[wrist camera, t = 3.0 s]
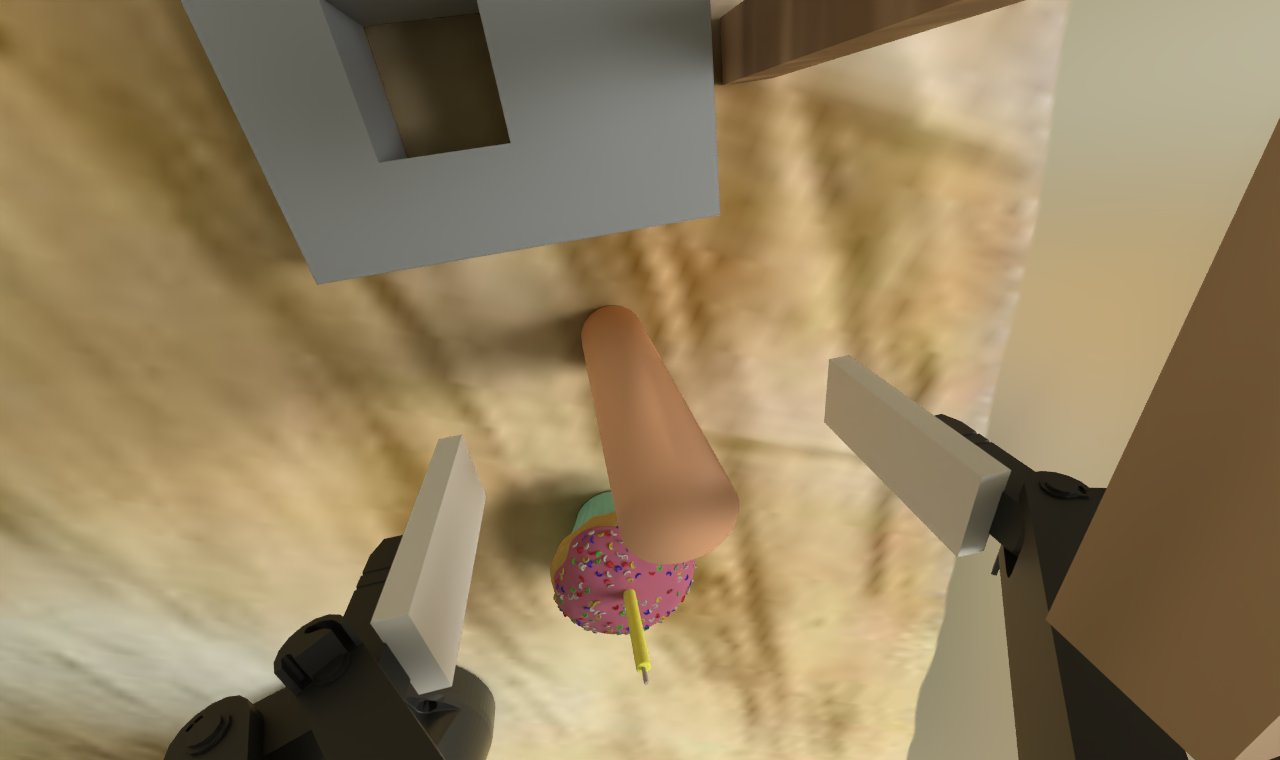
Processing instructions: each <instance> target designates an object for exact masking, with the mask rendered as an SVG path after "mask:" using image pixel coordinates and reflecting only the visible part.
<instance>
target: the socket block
mask: <svg viewBox="0 0 1280 760" xmlns="http://www.w3.org/2000/svg"><path fill="white" fill-rule="evenodd" d="M180 1H181V3H182V5H183V7H184V9H185V11H186V13H187V15H188V17H189V20H190V22H191V24H192V26H193V28H194V30H195V32H196V34H197V36H198V38H199V40H200V42H201V45H202V47H203V49H204V51H205V53H206V55H207V57H208V59H209V61H210V63H211V65H212V67H213V69H214V72H215V74H216V76H217V78H218V80H219V82H220V84H221V86H222V88H223V90H224V92H225V94H226V96H227V99H228V101H229V103H230V105H231V107H232V109H233V111H234V113H235V115H236V117H237V119H238V121H239V123H240V126H241V128H242V130H243V132H244V134H245V136H246V138H247V140H248V142H249V144H250V146H251V148H252V150H253V153H254V155H255V157H256V159H257V161H258V163H259V165H260V167H261V169H262V171H263V173H264V175H265V177H266V180H267V182H268V184H269V186H270V188H271V190H272V192H273V194H274V196H275V198H276V200H277V202H278V204H279V207H280V209H281V211H282V213H283V215H284V217H285V219H286V221H287V223H288V225H289V227H290V229H291V231H292V234H293V236H294V238H295V240H296V242H297V244H298V246H299V248H300V250H301V252H302V254H303V256H304V258H305V261H306V263H307V265H308V267H309V269H310V271H311V273H312V275H313V277H314V279H315V281H316V283H317V285H318V284H324V283H330V282H335V281H341V280H347V279H353V278H358V277H364V276H370V275H376V274H382V273H387V272H393V271H399V270H405V269H411V268H416V267H422V266H428V265H434V264H439V263H445V262H451V261H457V260H463V259H468V258H474V257H480V256H486V255H491V254H497V253H503V252H509V251H515V250H520V249H526V248H532V247H538V246H544V245H549V244H555V243H561V242H567V241H572V240H578V239H584V238H590V237H596V236H601V235H607V234H613V233H619V232H625V231H630V230H636V229H642V228H648V227H653V226H659V225H665V224H671V223H677V222H682V221H688V220H694V219H700V218H705V217H711V216H717V215H720V205H719V183H718V161H717V140H716V118H715V96H714V74H713V53H712V31H711V9H710V0H180ZM473 13H480V16H481V20H482V24H483V29H484V33H485V37H486V41H487V45H488V50H489V54H490V58H491V62H492V66H493V71H494V75H495V79H496V83H497V88H498V92H499V96H500V100H501V104H502V109H503V113H504V117H505V121H506V125H507V130H508V134H509V138H510V142H511V143H508V144H501V145H494V146H488V147H481V148H474V149H467V150H460V151H454V152H447V153H440V154H433V155H427V156H420V157H413V158H407V155H406V152H405V149H404V146H403V143H402V140H401V137H400V134H399V131H398V128H397V125H396V122H395V119H394V116H393V113H392V110H391V107H390V104H389V101H388V99H387V96H386V93H385V90H384V87H383V84H382V81H381V78H380V75H379V72H378V69H377V66H376V63H375V60H374V57H373V54H372V51H371V48H370V45H369V42H368V39H367V36H366V33H365V31H364V28H363V26H371V25H380V24H388V23H397V22H405V21H414V20H422V19H431V18H439V17H448V16H456V15H465V14H473Z"/></svg>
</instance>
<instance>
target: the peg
mask: <svg viewBox="0 0 1280 760" xmlns="http://www.w3.org/2000/svg"><path fill="white" fill-rule="evenodd" d="M581 341H582V346H583V351H584V356H585V361H586V366H587V371H588V376H589V382H590V387H591V392H592V397H593V402H594V407H595V412H596V417H597V422H598V427H599V432H600V437H601V442H602V447H603V452H604V457H605V462H606V467H607V472H608V477H609V482H610V487H611V492H612V497H613V502H614V507H615V512H616V517H617V522H618V527H619V532H620V536H621V539H622V542H623V544H624V545H625V547H626V548H627V549H628V550H629V551H630V552H631V553H632V554H633V555H635V556H636V557H638V558H640V559H642V560H644V561H647V562H650V563H655V564H678V563H683V562H687V561H691V560H694V559H696V558H699V557H701V556H703V555H705V554H707V553H708V552H710V551H712V550H713V549H714V548H716V547H717V546H718V545H720V544H721V543H722V542H723V541H724V540H725V539H726V538H727V536H728V535H729V534H730V532H731V531H732V530H733V528H734V526H735V524H736V521H737V519H738V515H739V499H738V496H737V493H736V491H735V489H734V487H733V486H732V484H731V482H730V480H729V478H728V477H727V475H726V473H725V471H724V470H723V468H722V466H721V464H720V462H719V461H718V459H717V457H716V455H715V454H714V452H713V450H712V448H711V446H710V445H709V443H708V441H707V439H706V438H705V436H704V434H703V432H702V430H701V429H700V427H699V425H698V423H697V422H696V420H695V418H694V416H693V414H692V413H691V411H690V409H689V407H688V406H687V404H686V402H685V400H684V398H683V397H682V395H681V393H680V391H679V390H678V388H677V386H676V384H675V382H674V381H673V379H672V377H671V375H670V374H669V372H668V370H667V368H666V366H665V365H664V363H663V361H662V359H661V358H660V356H659V354H658V352H657V350H656V349H655V347H654V345H653V343H652V342H651V340H650V338H649V336H648V334H647V333H646V331H645V329H644V327H643V325H642V324H641V322H640V320H639V319H638V317H637V316H636V315H635V314H634V313H633V312H632V311H630V310H629V309H627V308H624V307H621V306H606V307H602V308H600V309H598V310H596V311H594V312H593V313H592V314H591V315H590V316H589V317H588V318H587V319H586V321H585V323H584V325H583V327H582V331H581Z"/></svg>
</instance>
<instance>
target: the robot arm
mask: <svg viewBox="0 0 1280 760" xmlns="http://www.w3.org/2000/svg"><path fill="white" fill-rule="evenodd" d="M824 422H825V423H826V424H827V425H828V426H829V427H830V428H831V429H832V430H833V431H834V432H835V433H836V434H837V435H838V436H839V438H840V439H841V440H842V441H843V442H844V443H845V444H846V445H847V446H848V447H849V448H850V449H851V450H852V451H853V452H854V453H855V454H856V455H857V456H858V457H859V458H860V459H861V460H862V461H863V462H864V463H865V464H866V465H867V466H868V467H869V468H870V469H871V470H872V471H873V472H874V473H875V474H876V475H877V476H878V477H879V478H880V479H881V480H882V481H883V482H884V483H885V484H886V485H887V486H888V487H889V488H890V489H891V490H892V491H893V492H894V493H895V494H896V495H897V496H898V497H899V498H900V499H901V500H902V502H903V503H904V504H905V505H906V506H907V507H908V508H909V509H910V510H911V511H912V512H913V513H914V514H915V515H916V516H917V517H918V518H919V519H920V520H921V521H922V522H923V523H924V524H925V525H926V526H927V527H928V528H929V529H930V530H931V531H932V532H933V533H934V534H935V535H936V536H937V537H938V538H939V539H940V540H941V541H942V542H943V543H944V544H945V545H946V546H947V547H948V548H949V549H950V550H951V551H952V552H953V553H954V554H955V555H956V556H957V557H961V556H965V555H969V554H972V553H977V552H981V551H984V549H985V546H986V543H987V540H988V537H989V534H990V535H992V536H993V537H994V538H995V539H996V540H997V541H998V542H999V543H1001V547H1000V549H999V553H998V555H997V558H996V561H995V563H994V566H993V569H992V573H991V574H993V575H997V573H998V570H999V569H1000V576H1001V584H1002V585H1001V586H1002V596H1003V606H1004V616H1005V626H1006V636H1007V646H1008V656H1009V666H1010V677H1011V687H1012V697H1013V707H1014V716H1015V727H1016V737H1017V747H1018V757H1019V760H1188V757H1187V755H1186V752H1185V750H1184V749H1183V748H1182V747H1181V746H1180V745H1179V744H1178V743H1177V742H1176V741H1174V740H1173V739H1172V738H1171V737H1170V736H1169V735H1168V734H1167V733H1166V732H1165V731H1164V730H1163V729H1162V728H1161V727H1160V726H1158V725H1157V724H1156V723H1155V722H1154V721H1153V720H1152V719H1151V718H1150V717H1149V716H1148V715H1147V714H1146V713H1145V712H1144V711H1142V710H1141V709H1140V708H1139V707H1138V706H1137V705H1136V704H1135V703H1134V702H1133V701H1132V700H1131V699H1130V698H1129V697H1128V696H1126V695H1125V694H1124V693H1123V692H1122V691H1121V690H1120V689H1119V688H1118V687H1117V686H1116V685H1115V684H1114V683H1113V682H1111V681H1110V680H1109V679H1108V678H1107V677H1106V676H1105V675H1104V674H1103V673H1102V672H1101V671H1100V670H1099V669H1098V668H1097V667H1095V666H1094V665H1093V664H1092V663H1091V662H1090V661H1089V660H1088V659H1087V658H1086V657H1085V656H1084V655H1083V654H1082V653H1081V652H1079V651H1078V650H1077V649H1076V648H1075V647H1074V646H1073V645H1072V644H1071V643H1070V642H1069V641H1068V640H1067V639H1066V638H1065V637H1063V636H1062V635H1061V634H1060V633H1059V632H1058V631H1057V630H1056V629H1055V628H1054V627H1053V626H1052V625H1051V624H1050V623H1049V622H1047V621H1046V620H1045V619H1046V617H1047V615H1048V613H1049V611H1050V609H1051V607H1052V604H1053V602H1054V600H1055V598H1056V596H1057V594H1058V592H1059V589H1060V587H1061V585H1062V583H1063V581H1064V579H1065V577H1066V574H1067V572H1068V570H1069V568H1070V566H1071V564H1072V562H1073V559H1074V557H1075V555H1076V553H1077V551H1078V549H1079V547H1080V545H1081V542H1082V540H1083V538H1084V536H1085V534H1086V532H1087V530H1088V527H1089V525H1090V523H1091V521H1092V519H1093V517H1094V515H1095V512H1096V510H1097V508H1098V506H1099V504H1100V502H1101V500H1102V497H1103V495H1104V493H1105V491H1106V489H1107V488H1089V487H1088V486H1086V485H1085V484H1083V483H1082V482H1080V481H1078V480H1076V479H1074V478H1072V477H1070V476H1067V475H1063V474H1060V473H1056V472H1047V471H1039V472H1035V471H1033V470H1032V469H1030V468H1029V467H1027V466H1026V465H1024V464H1023V463H1022V462H1020V461H1019V460H1017V459H1016V458H1014V457H1013V456H1011V455H1010V454H1008V453H1007V452H1005V451H1004V450H1002V449H1001V448H1000V447H998V446H997V445H995V444H994V443H992V442H989V441H988V439H986V438H985V437H983V436H982V435H980V434H977V433H976V431H974V430H973V429H971V428H970V427H968V426H967V425H966V424H964V423H963V422H961V421H959V420H956V419H953V418H951V417H948V416H946V415H943V414H939V415H935V416H934V415H933V414H931V413H930V412H928V411H927V410H926V409H924V408H923V407H921V406H920V405H918V404H917V403H916V402H914V401H913V400H911V399H910V398H909V397H907V396H906V395H904V394H903V393H902V392H900V391H899V390H897V389H896V388H895V387H893V386H892V385H890V384H889V383H887V382H886V381H885V380H883V379H882V378H880V377H879V376H878V375H876V374H875V373H873V372H872V371H871V370H869V369H868V368H866V367H865V366H863V365H862V364H861V363H859V362H858V361H856V360H855V359H854V358H852V357H851V356H849V355H848V356H843V357H838V358H833V359H829V369H828V381H827V394H826V407H825V419H824ZM485 499H486V494H485V492H484V489H483V487H482V484H481V482H480V479H479V477H478V474H477V471H476V469H475V466H474V464H473V461H472V459H471V456H470V454H469V451H468V448H467V446H466V443H465V441H464V438H463V436H462V435H458V436H453V437H448V438H443V439H439V440H438V443H437V446H436V448H435V451H434V454H433V456H432V459H431V462H430V464H429V467H428V470H427V472H426V475H425V478H424V480H423V483H422V486H421V489H420V491H419V494H418V497H417V499H416V502H415V505H414V507H413V510H412V513H411V515H410V518H409V521H408V523H407V526H406V529H405V531H404V534H403V535H401V536H396V537H392V538H387V539H384V540H383V541H382V542H381V543H380V545H379V546H378V547H377V548H376V549H375V550H374V552H373V553H372V554H371V555H370V557H369V559H368V561H367V564H366V566H365V568H364V570H363V576H361V577H360V580H359V582H358V584H357V590H355V591H354V593H353V596H352V598H351V600H350V603H349V605H348V607H347V610H346V612H345V614H344V616H343V617H342V616H341V615H331V614H329V615H326V616H323V617H319V618H316V619H314V620H313V621H311V622H309V623H308V624H306V625H304V626H302V627H301V628H300V629H299V630H298V631H296V632H295V633H294V634H293V635H292V636H291V637H289V638H288V640H287V641H286V642H285V644H284V645H283V646H282V647H281V649H280V650H279V652H278V654H277V656H276V659H275V661H274V674H275V675H276V676H277V677H278V678H279V679H280V680H281V681H282V682H283V683H284V684H285V685H286V687H285V688H283V689H281V690H280V691H278V692H276V693H274V694H272V695H270V696H268V697H266V698H264V699H262V700H260V701H258V702H256V703H255V704H252V703H251V702H250V701H249V700H248V699H246V698H244V697H242V696H240V695H239V696H231V697H226V698H224V699H222V700H219V701H217V702H215V703H213V704H211V705H210V706H208V707H207V708H205V709H204V710H202V711H201V712H200V713H198V714H197V715H195V716H194V717H193V718H192V719H191V720H190V721H189V722H188V723H187V724H186V725H185V726H184V727H183V728H182V729H181V730H180V732H179V733H178V734H177V736H176V737H175V738H174V740H173V741H172V743H171V744H170V745H169V748H168V750H167V753H166V755H165V758H164V760H486V758H487V755H488V752H489V750H490V747H491V743H492V738H493V728H494V717H495V702H494V698H493V696H492V693H491V692H490V690H489V689H488V687H487V686H486V685H485V684H484V683H483V682H482V681H481V680H480V679H478V678H477V677H476V676H474V675H473V674H471V673H469V672H467V671H465V670H463V669H461V668H458V667H456V661H457V655H458V650H459V644H460V639H461V633H462V627H463V622H464V616H465V611H466V605H467V600H468V594H469V588H470V583H471V577H472V572H473V566H474V561H475V555H476V549H477V544H478V538H479V533H480V527H481V522H482V516H483V511H484V505H485ZM1270 760H1280V756H1278V757H1275V758H1272V759H1270Z"/></svg>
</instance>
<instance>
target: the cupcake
mask: <svg viewBox="0 0 1280 760" xmlns="http://www.w3.org/2000/svg"><path fill="white" fill-rule="evenodd" d="M694 567H696V568H697V566H696V565H695V559H694V560H691V561H687V562H683V563H678V564H655V563H650V562H647V561H644V560H642V559H640V558H638V557H636V556H635V555H633V554H632V553H631V552H630V551H629V550H628V549H627V548H626V547H625V545H624V544H623V542H622V539H621V536H620V532H619V527H618V522H617V517H616V512H615V507H614V502H613V497H612V492H611V491H609V492H605V493H602V494H599V495H597V496H595V497H593V498H591V499H590V500H589V501H587V502H586V503H585V504H584V505H583V507H582V508H581V509H580V511H579V513H578V516H577V519H576V523H575V526H574V529H573V531H572V533H571V534H570V535H568V536H567V537H565V538H564V539H563V540H562V541H561V543H560V545H559V547H558V549H557V552H556V554H555V556H554V558H553V560H552V563H551V567H550V575H551V581H552V585H553V589H554V592H555V594H554V600H555V602H556V603H557V604H558V608H560V609H559V610H560V611H563V614H564V613H565V614H566V615H565V614H564V616H565V617H566V616H568V617H569V618H570V619H571V621H572V622H573V623H574V624H575V623H576V624H578V626H581V627H582V628H584V630H586V631H590V630H591V631H592V632H593V633H597V632H601V633H606V634H617V635H620V634H625V635H628V634H630V636H631V642H632V647H633V653H634V659H635V664H636V669H637V671H638V672H639V673H642V674H643V680H644V683H645V684H646V685H647V684H648V683H649V680H648V675H647V672H648V671H649V670H650V668H651V665H650V660H649V655H648V650H647V646H646V641H645V636H644V631H645V630H648V629H649V627H650V626H652V625H654V624H656V623H657V622H659V623H662V622H663V619H664V618H665V617H667V616H669V615H670V612H672V611H675V610H673V609H677V607H678V604H679V603H680V602H683V601H684V598H685V595H686V594H688V593H689V592H690V588H689V586H690V585H691V584H692V583H693V581H694V580H692V577H693V573H694ZM643 630H644V631H643Z"/></svg>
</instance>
